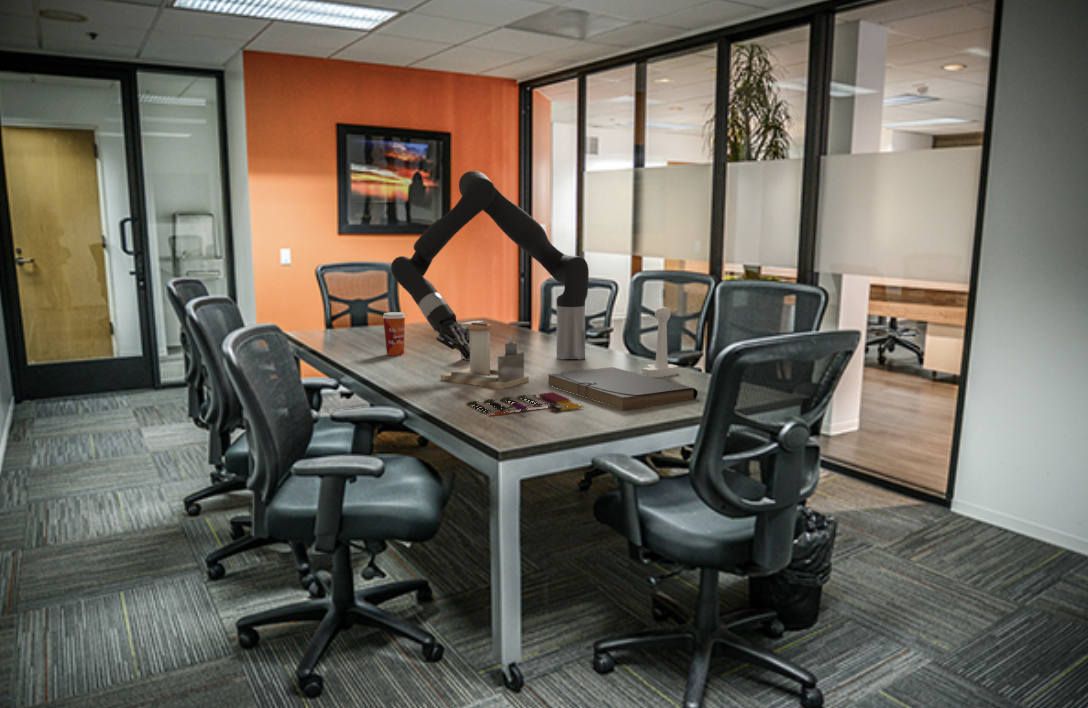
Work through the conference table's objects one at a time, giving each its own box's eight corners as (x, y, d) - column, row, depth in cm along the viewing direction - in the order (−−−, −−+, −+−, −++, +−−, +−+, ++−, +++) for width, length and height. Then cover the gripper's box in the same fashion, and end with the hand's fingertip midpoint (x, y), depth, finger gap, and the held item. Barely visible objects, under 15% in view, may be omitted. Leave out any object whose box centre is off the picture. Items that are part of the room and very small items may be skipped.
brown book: (547, 373, 207) (617, 365, 219) (546, 388, 207) (617, 379, 220) (622, 396, 179) (697, 385, 192) (621, 413, 180) (697, 401, 193)
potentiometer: (502, 354, 207) (502, 336, 206) (510, 352, 210) (509, 334, 209) (512, 355, 205) (512, 337, 205) (519, 354, 208) (519, 335, 207)
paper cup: (391, 357, 252) (389, 315, 249) (379, 354, 257) (377, 313, 255) (411, 354, 257) (410, 313, 255) (399, 351, 263) (398, 311, 260)
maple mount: (440, 379, 216) (440, 350, 214) (468, 372, 225) (467, 344, 224) (502, 389, 203) (501, 358, 202) (528, 381, 213) (528, 351, 212)
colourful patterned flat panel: (554, 396, 198) (554, 386, 197) (589, 411, 183) (589, 400, 182) (465, 407, 186) (465, 396, 186) (494, 424, 171) (494, 412, 171)
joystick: (651, 378, 217) (653, 308, 213) (634, 374, 223) (635, 306, 220) (680, 374, 223) (682, 306, 219) (663, 369, 229) (665, 303, 226)
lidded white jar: (463, 374, 214) (462, 323, 212) (478, 371, 219) (477, 321, 217) (481, 377, 210) (480, 325, 208) (496, 373, 216) (496, 322, 213)
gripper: (446, 317, 228) (478, 362, 223) (414, 322, 217) (447, 369, 212) (459, 301, 224) (492, 345, 219) (427, 305, 213) (461, 352, 209)
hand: (470, 357), depth 216 cm, fingers closed
